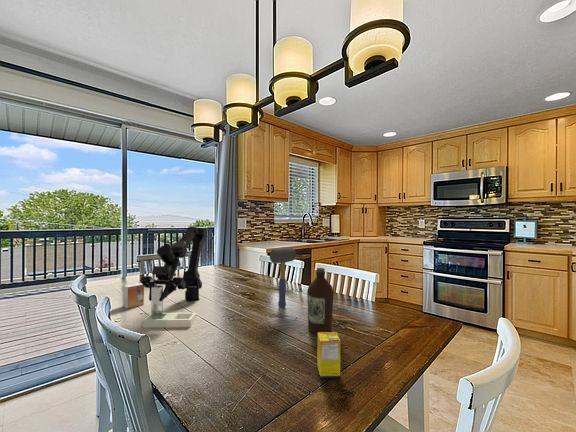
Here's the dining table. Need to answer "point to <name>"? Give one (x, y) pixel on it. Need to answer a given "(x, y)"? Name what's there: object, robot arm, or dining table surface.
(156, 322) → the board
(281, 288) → the rubber mallet
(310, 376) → the dining table surface
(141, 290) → the small box
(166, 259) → the robot arm
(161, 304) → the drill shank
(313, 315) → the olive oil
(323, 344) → the supplement box
